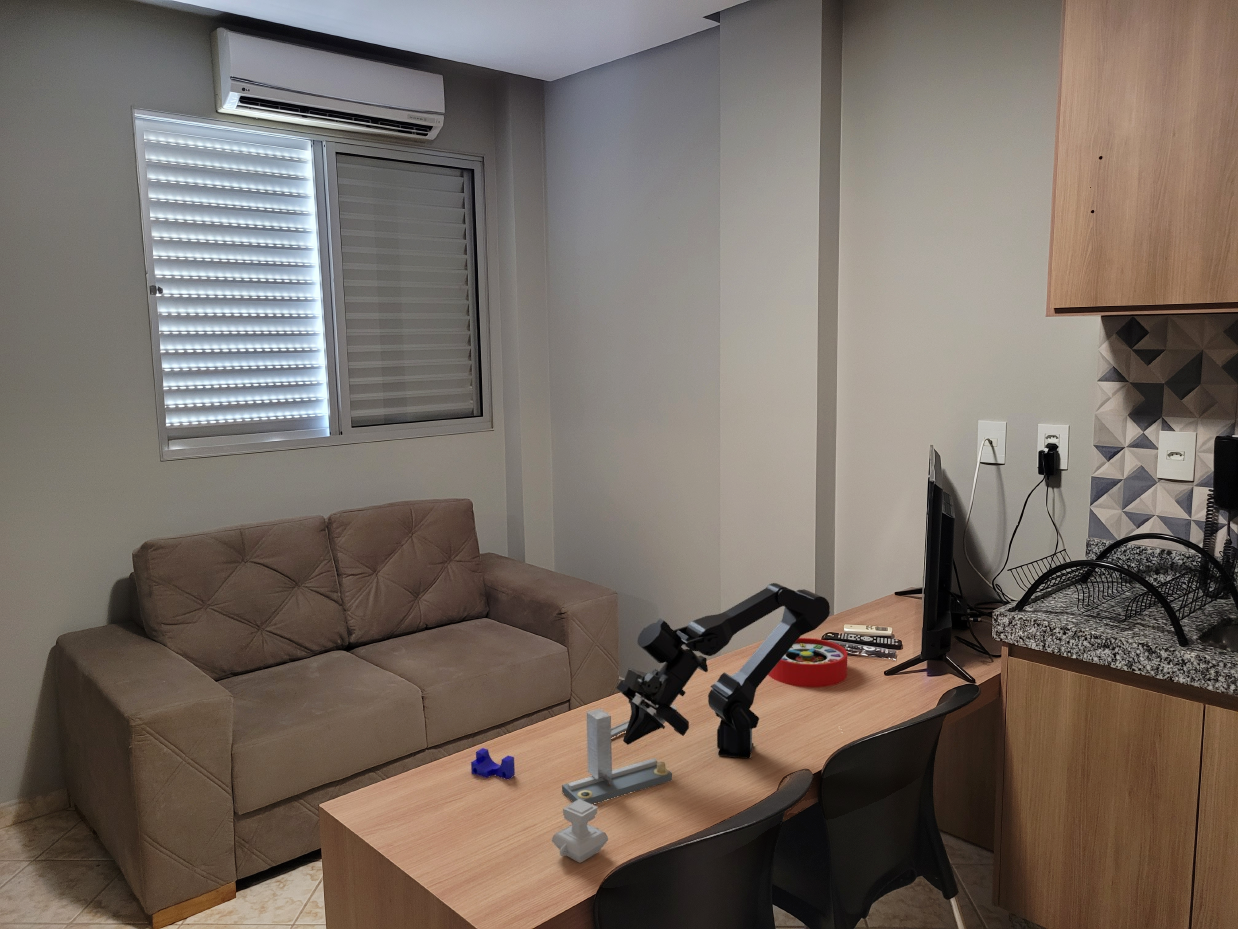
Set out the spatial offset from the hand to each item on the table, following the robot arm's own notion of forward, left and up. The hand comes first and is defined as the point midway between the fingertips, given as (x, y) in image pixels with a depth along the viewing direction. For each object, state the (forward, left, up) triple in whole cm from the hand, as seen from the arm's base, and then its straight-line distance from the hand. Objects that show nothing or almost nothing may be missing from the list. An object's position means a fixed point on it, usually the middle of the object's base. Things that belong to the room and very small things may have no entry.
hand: (625, 743), depth 171 cm
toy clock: (-31, -65, -8) cm, 72 cm away
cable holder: (+26, +4, -8) cm, 27 cm away
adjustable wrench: (+5, -24, -8) cm, 26 cm away
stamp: (+1, +26, -8) cm, 27 cm away
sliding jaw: (+3, +5, -5) cm, 8 cm away
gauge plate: (+1, +3, -7) cm, 8 cm away
